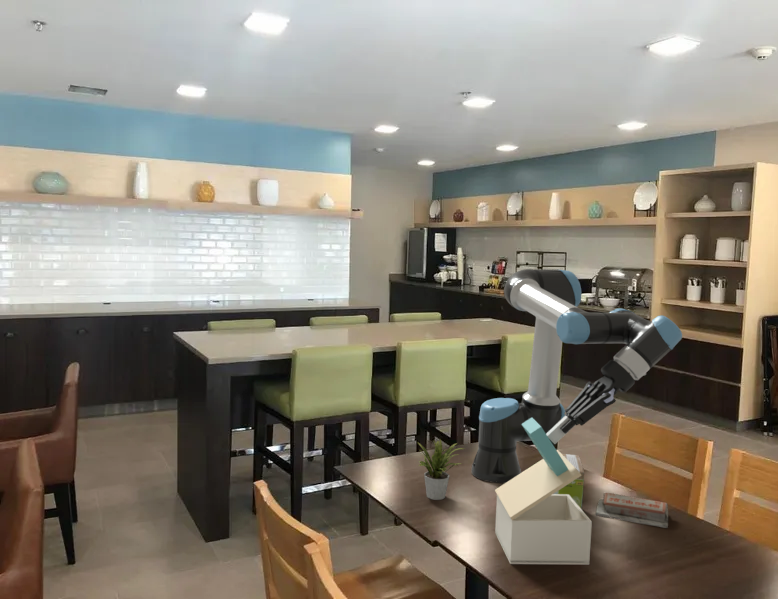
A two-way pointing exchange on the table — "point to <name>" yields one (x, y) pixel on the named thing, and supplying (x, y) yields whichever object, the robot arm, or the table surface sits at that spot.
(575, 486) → the tea box
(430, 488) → the house plant
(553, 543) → the carton
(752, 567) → the table surface
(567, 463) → the teal slab on tray
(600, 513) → the packaged product
